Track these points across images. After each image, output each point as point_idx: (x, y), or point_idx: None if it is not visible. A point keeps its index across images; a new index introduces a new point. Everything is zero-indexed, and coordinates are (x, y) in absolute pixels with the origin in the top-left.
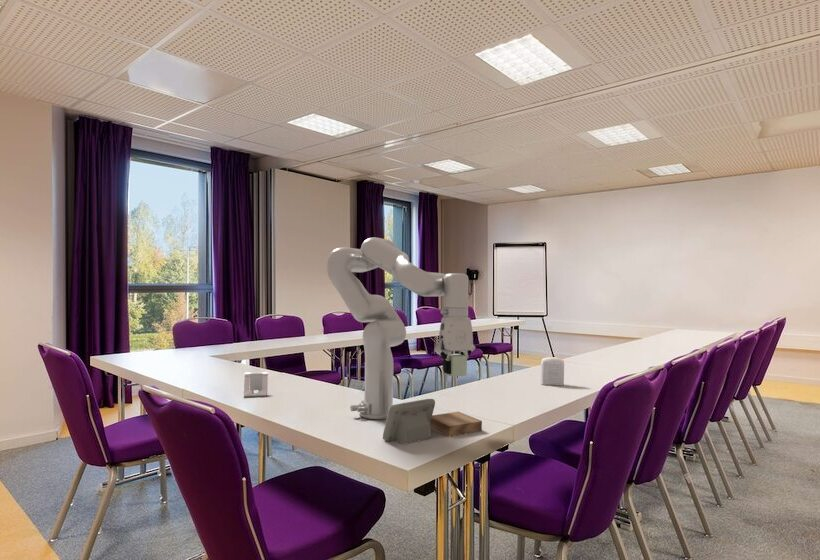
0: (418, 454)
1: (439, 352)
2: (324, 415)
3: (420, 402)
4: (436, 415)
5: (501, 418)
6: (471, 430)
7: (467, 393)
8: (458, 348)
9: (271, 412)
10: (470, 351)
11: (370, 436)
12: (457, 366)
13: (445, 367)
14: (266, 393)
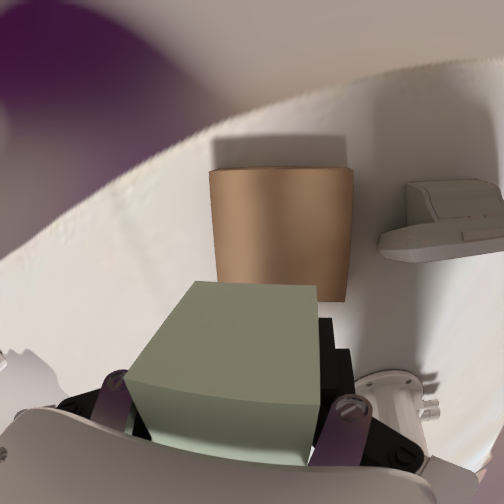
0: (481, 104)
1: (440, 469)
2: (454, 416)
3: (481, 229)
4: None
5: (108, 246)
6: (258, 167)
7: None
8: (220, 485)
9: (484, 435)
10: (63, 409)
11: (495, 274)
12: (266, 328)
13: (349, 369)
14: None
